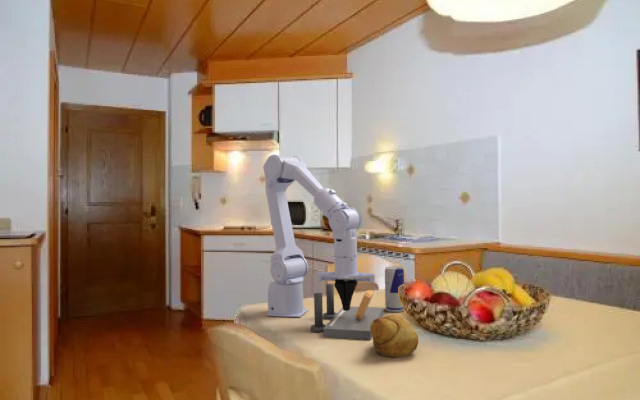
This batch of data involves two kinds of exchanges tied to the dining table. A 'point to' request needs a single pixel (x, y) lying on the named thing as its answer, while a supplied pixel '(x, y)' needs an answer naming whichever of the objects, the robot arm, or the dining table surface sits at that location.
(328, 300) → the cord post far
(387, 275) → the energy drink
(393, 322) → the bread roll
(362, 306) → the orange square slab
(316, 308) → the post
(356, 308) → the panel
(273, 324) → the dining table surface
